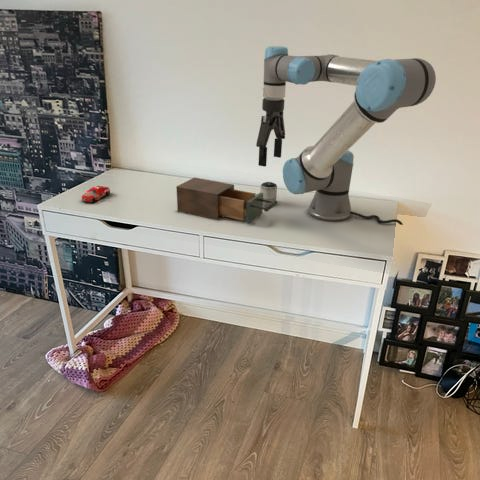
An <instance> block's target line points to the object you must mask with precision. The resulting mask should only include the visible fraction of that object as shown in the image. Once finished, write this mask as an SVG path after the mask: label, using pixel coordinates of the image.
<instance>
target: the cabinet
mask: <svg viewBox="0 0 480 480" xmlns="http://www.w3.org/2000/svg"><path fill="white" fill-rule="evenodd" d="M230 189H235V184H232V183H227V182H221V181H216V180H210V179H206V178H199V177H192V178H190V179H189V180H187V181H184V182H182V183H181V184H178V185H176V205H177V212H178V213H183V214H188V215H193V216H197V217H202V218H205V219H211V220H216V221H219V220H220V219H222V218H223V217H224V216H221V215H219V196H220V195H222V194H223V193H225V192H227V191H228V190H230Z"/></svg>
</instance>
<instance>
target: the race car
mask: <svg viewBox="0 0 480 480" xmlns="http://www.w3.org/2000/svg"><path fill="white" fill-rule="evenodd" d="M110 194H111V189H110V187H109V186H106V185H105V186H104V185H95V186H92V187H91V188H89V189H88V190H86V192H85V193H84V194H83V195H81V201H82V202H84V203H94V204H95V203H96V201H99V200H100V199H103V198H107V197H109V195H110Z"/></svg>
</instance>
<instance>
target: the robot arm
mask: <svg viewBox="0 0 480 480" xmlns="http://www.w3.org/2000/svg"><path fill="white" fill-rule="evenodd" d="M436 79H437V77H436V71H435V69H434V66H433V65H432V64H431V63H430V62H429V61H427V60H425V59H424V58H423V59H422V58H417V57H415V58H414V57H413V58H399V59H397V58H396V59H393V58H383V59H380V60H372V59H366V58H365V59H363V58H355V57H346V56H340V55H337V54H325V55H324V54H323V55H298V56H297V55H289V49H288V47H286V46H282V45H281V46H280V45H278V46H277V45H270V46H267V47H266V48H265V51H264V59H263V86H262V88H261V89H262V97H263V99H262V103H261V104H262V105H261V110H262V111H264V112H265V115H262V116H261V119H260V125H259V131H258V135H257V139H256V144H255V146H256V147H258V166H260V167H267V162H268V161H267V159H268V147H267V146H268V143H269V139H270V137H271V133H272V131H273V133H274V135H275V138H274V144H273V158H278V159H280V158H282V147H283V140H285V139H286V129H285V121H284V110H285V99H284V98H285V97H286V89H287V88H286V84H287V83H291V84H294V85H303V86H304V85H307V84H308V83H314V82H328V83H336V84H341V85H347V86H352V87H355V91H354V94H353V101H352V103H350V104H349V106H348V107H347V108H346V109H345V110H344V112H343V113H341V115H340V116H339V117H338V118H337V119H336V120H335V122H333V124H332V125H331V126H330V127H328V129H327V130H326V131H325V133H324V134H323V135H322V136H321V137H320V138H319V140H317V141H316V143H315V144H314V145H309V146H307V147H306V148H304V149H303V151H302V152H300V154H299V155H298V156H297V157H291V158H289V159H287V160H285V162H284V164H283V167H282V179H283V183H284V186H285V187H286V189H287V190H288V192H289V193H291V194H293V195H304V194H306V193H312V192H314V195H313V197H312V199H311V202H310V204H309V207H308V213H309V215H310V216H312V217H313V218H316V219H318V220H322V221H328V222H329V221H330V222H340V221H344V220H347V219H349V218H350V217H351V216H352V215H353V216H356V217H360V218H361V219H362V218H363V219H366V220H369V219H376V221H377V222H378V223H380V224H390V223H397V224H398V225H401V226H403V225H404V223H403V222H402V221H401V220H400V219H394V218H392V219H387V220H382V219H380V216H378V215H375V214H372V215H364V214H361V213H358V212H355V211H352V207H351V201H350V188H351V181H352V174H353V167H354V159H355V157H354V153H353V152H352V151H351V150H350V149H351V148H352V147H353V146H354V145H355V144H356V143H357V142H358V141H359V140H360V139H361V138H362V137H363V136H364V135H365V134H366V133H367V132H368V131H369V130H370V129H372V127H373V126H374V125H375V124H383V123H385V122H386V121H387V120H388V119H389V118H390V117H392V116H393V114H394V113H395V112H396V111H397V110H399V109H402V108H408V107H414V106H418V105H420V104H422V103H423V102H425V101H427V99H428V98H429V97H430V96H431V95H432V93H433V91H434V89H435V86H436ZM399 271H400V270H398V271H397V273H396V274H395V277H394V278H393V283H392V289H393V290H394V289H396V284H397V280H398V275H399Z"/></svg>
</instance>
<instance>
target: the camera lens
mask: <svg viewBox="0 0 480 480" xmlns="http://www.w3.org/2000/svg"><path fill="white" fill-rule="evenodd" d="M259 187H260V188H259V190H260V192H259V193H263V199H264V200H269V201H274V200H276V201H277V197H278V195H277V193H278V185H277V184H276V183H274V182H272V181H266V182H265V181H264V182H263V183H261V184H260V186H259ZM269 204H270V203H268V202H263V207H266V206H267V205H269Z"/></svg>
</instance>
